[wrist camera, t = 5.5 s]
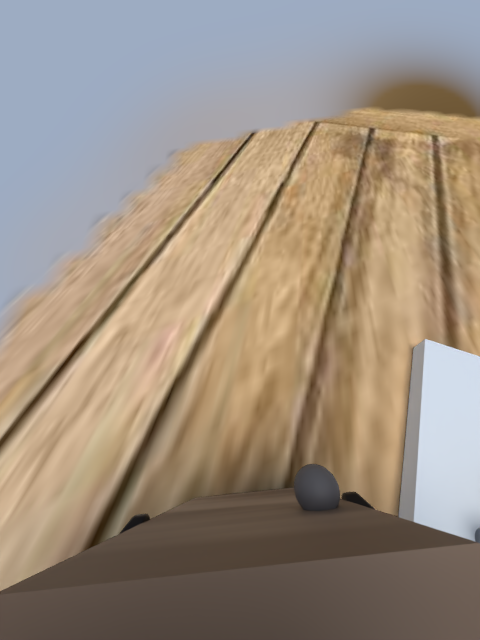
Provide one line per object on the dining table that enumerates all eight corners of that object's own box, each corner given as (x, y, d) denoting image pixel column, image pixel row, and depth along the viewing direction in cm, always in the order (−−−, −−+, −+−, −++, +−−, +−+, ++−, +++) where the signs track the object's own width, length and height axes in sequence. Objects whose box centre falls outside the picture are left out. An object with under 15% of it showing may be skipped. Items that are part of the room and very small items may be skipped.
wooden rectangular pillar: (316, 562, 11) (827, 1277, 1) (193, 575, 11) (-291, 1451, 1) (298, 465, 14) (435, 451, 3) (194, 476, 13) (25, 493, 3)
